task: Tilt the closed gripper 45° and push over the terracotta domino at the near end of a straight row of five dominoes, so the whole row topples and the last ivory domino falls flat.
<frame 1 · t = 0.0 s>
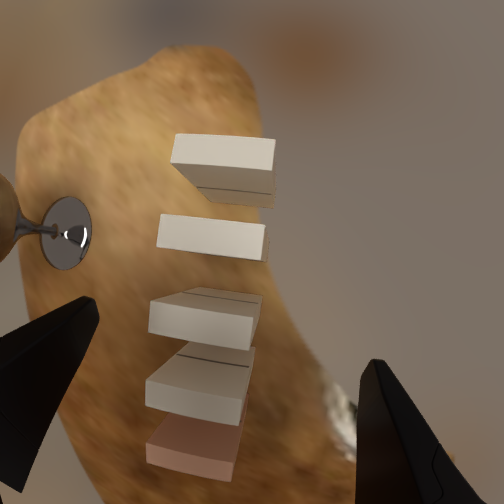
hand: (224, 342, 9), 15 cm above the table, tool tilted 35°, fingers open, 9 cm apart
domino 1: (218, 397, 24), on the table
domino 3: (229, 301, 24), on the table
domino 5: (243, 195, 24), on the table
wine glass: (64, 233, 26), on the table
domino 2: (223, 351, 24), on the table
domino 4: (236, 247, 24), on the table
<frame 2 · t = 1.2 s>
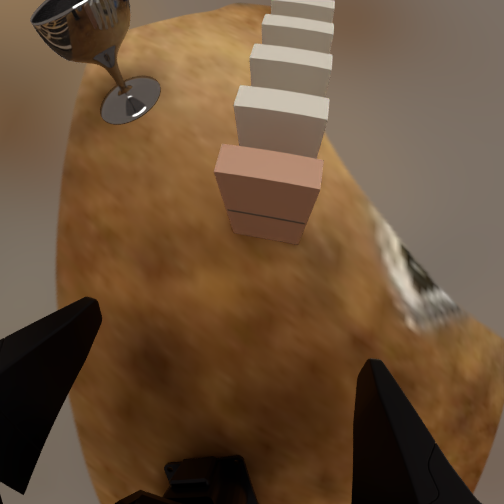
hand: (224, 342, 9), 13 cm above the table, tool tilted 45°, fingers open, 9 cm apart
domino 1: (267, 228, 24), on the table
domino 3: (284, 140, 26), on the table
domino 5: (296, 77, 27), on the table
wine glass: (130, 99, 28), on the table
domino 2: (276, 181, 25), on the table
domino 4: (290, 105, 26), on the table
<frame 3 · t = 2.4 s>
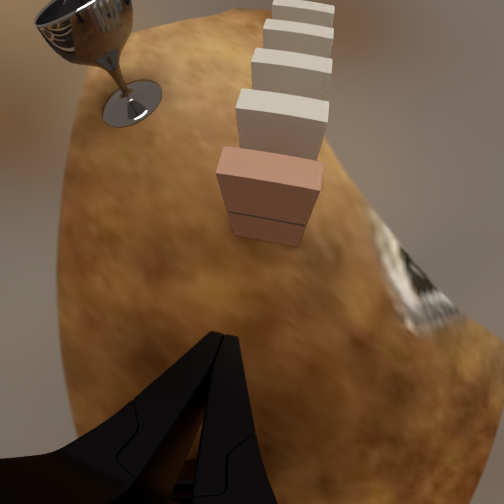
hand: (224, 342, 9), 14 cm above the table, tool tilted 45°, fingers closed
domino 1: (267, 231, 24), on the table
domino 3: (284, 143, 26), on the table
domino 5: (296, 82, 28), on the table
wine glass: (131, 102, 28), on the table
domino 2: (276, 184, 25), on the table
domino 4: (290, 109, 27), on the table
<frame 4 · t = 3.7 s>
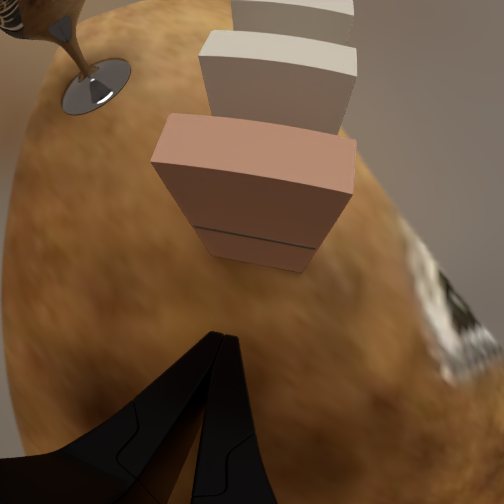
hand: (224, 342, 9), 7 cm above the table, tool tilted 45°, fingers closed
domino 1: (259, 250, 17), on the table
domino 3: (283, 128, 19), on the table
wine glass: (95, 85, 21), on the table
domino 2: (272, 182, 18), on the table
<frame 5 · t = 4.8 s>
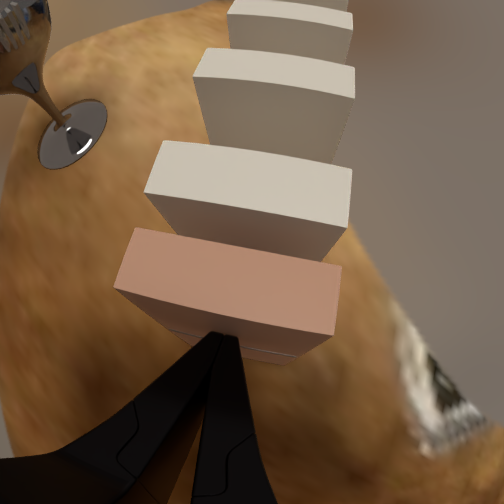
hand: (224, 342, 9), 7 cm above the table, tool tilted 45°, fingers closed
domino 1: (240, 341, 16), on the table, tilted 10°
domino 3: (270, 197, 18), on the table
domino 5: (290, 97, 20), on the table
wine glass: (71, 133, 20), on the table
domino 2: (256, 266, 17), on the table
domino 4: (281, 141, 19), on the table
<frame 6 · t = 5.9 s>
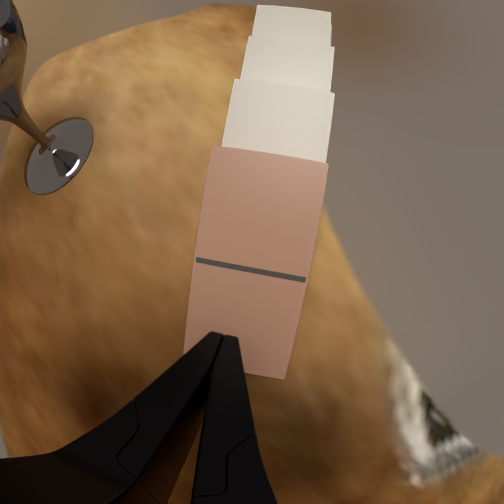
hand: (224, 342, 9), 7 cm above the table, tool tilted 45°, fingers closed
domino 1: (235, 362, 15), point 1 cm above the table, tilted 68°, touching domino 2
domino 3: (266, 205, 17), point 1 cm above the table, tilted 67°, touching domino 2
wine glass: (57, 154, 19), on the table
domino 2: (253, 280, 16), point 1 cm above the table, tilted 67°, touching domino 1, domino 3
domino 4: (278, 140, 18), point 1 cm above the table, tilted 67°, touching domino 5
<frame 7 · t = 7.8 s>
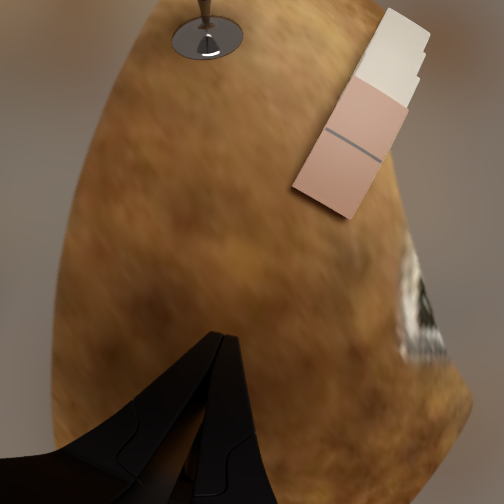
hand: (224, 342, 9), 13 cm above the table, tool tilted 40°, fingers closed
domino 1: (320, 202, 23), point 1 cm above the table, tilted 68°
domino 3: (359, 121, 23), point 1 cm above the table, tilted 68°, touching domino 2, domino 4
wine glass: (207, 37, 24), on the table
domino 2: (343, 157, 23), point 1 cm above the table, tilted 68°, touching domino 3
domino 4: (373, 90, 24), point 1 cm above the table, tilted 68°, touching domino 3, domino 5
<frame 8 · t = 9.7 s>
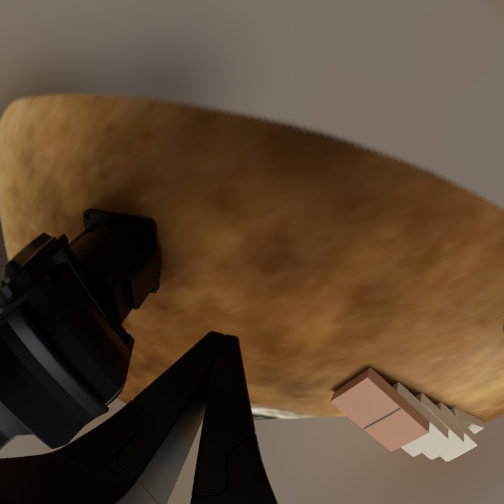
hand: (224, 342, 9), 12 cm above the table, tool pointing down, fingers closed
domino 1: (350, 385, 26), point 1 cm above the table, tilted 68°, touching domino 2
domino 3: (404, 408, 27), point 1 cm above the table, tilted 68°, touching domino 2, domino 4
domino 5: (439, 421, 28), point 1 cm above the table, tilted 90°, touching domino 4
domino 2: (379, 398, 27), point 1 cm above the table, tilted 68°, touching domino 1, domino 3
domino 4: (424, 416, 28), point 1 cm above the table, tilted 68°, touching domino 3, domino 5
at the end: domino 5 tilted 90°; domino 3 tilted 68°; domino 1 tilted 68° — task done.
